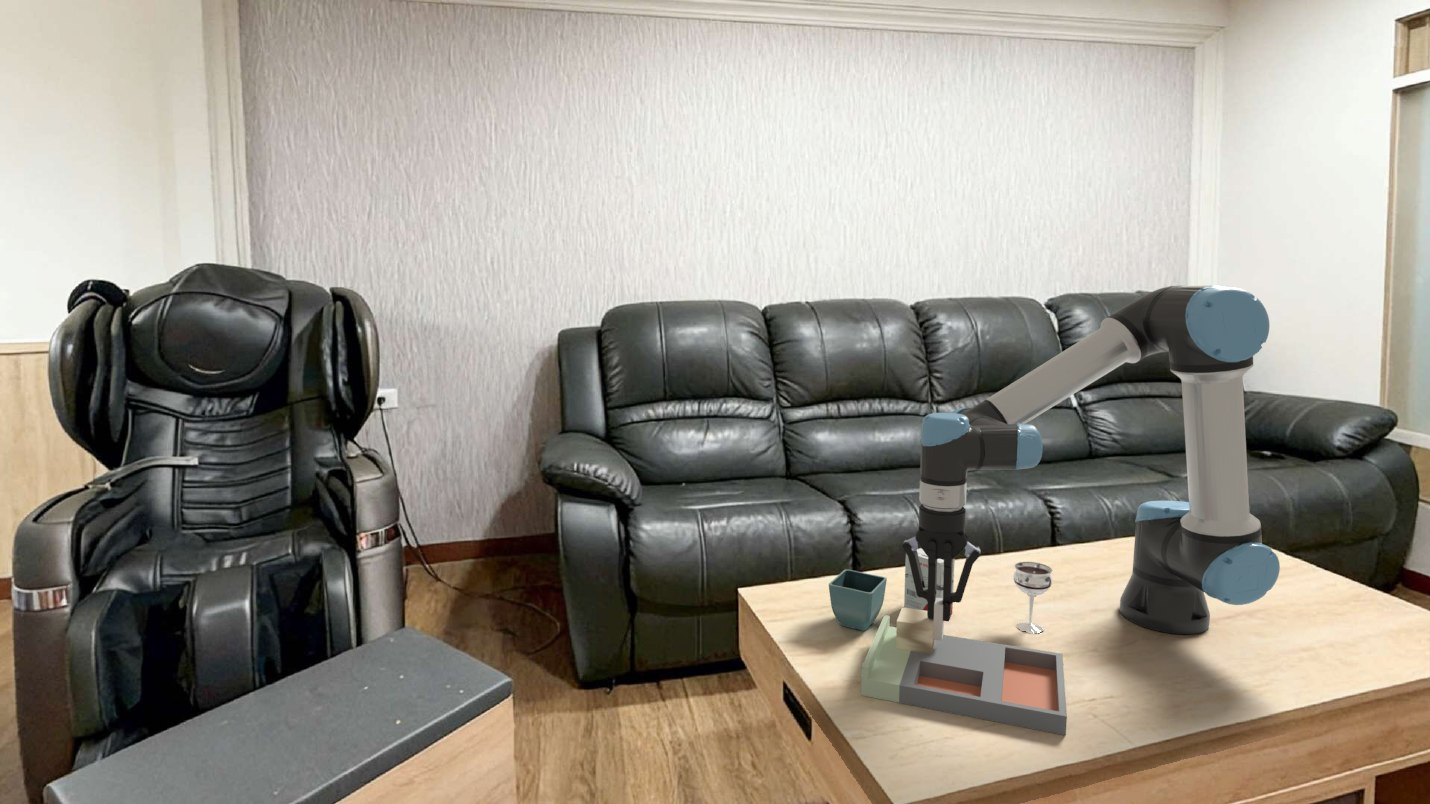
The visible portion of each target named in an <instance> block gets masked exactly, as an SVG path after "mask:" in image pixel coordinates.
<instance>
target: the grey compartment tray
mask: <svg viewBox="0 0 1430 804" xmlns="http://www.w3.org/2000/svg"><path fill="white" fill-rule="evenodd" d="M890 619H891V617H890V615H887V614H885V615H883V617H882V620H881V621H880V623H879V627H878V628H877V631H876V633H875V636H874V638H873V640H872V642H871V644H870V646H869V649H868V652H867V654H866V656H865V657H864V661H863V662H862V665H861V691H860V692H861V694H860V696H863V697H868V698H874V699H879V700H883V701H887V702H894V703H898V704H902V705H903V704H905V705H908V706H913V707H919V708H923V709H924V708H925V709H929V710H934V711H940V712H944V713H949V714H955V715H960V716H965V717H970V718H974V719H980V720H985V721H991V722H995V723H1000V724H1006V725H1011V726H1015V727H1020V728H1024V729H1025V728H1027V729H1032V730H1037V731H1039V732H1040V731H1041V732H1046V733H1052V734H1057V735H1062V736H1067V722H1068V715H1067V714H1068V713H1067V698H1066V686H1065V673H1064V672H1065V671H1064V657H1063V653H1060V652H1055V651H1054V652H1052V651H1046V650H1040V649H1036V648H1035V649H1034V648H1029V647H1022V646H1017V645H1009V644H1003V643H997V642H991V641H986V640H979V639H972V638H966V637H960V636H953V635H949V634H948V635H947V634H946V635H945V634H943V638H942V641H939V640H936V641H935V644H934V648H933V652H932V654H927V653H921V652H915V651H909V650H903V649H898V648H896V630H897V626H896V627H895V626H890V625H891V624H890V623H891V622H890Z"/></svg>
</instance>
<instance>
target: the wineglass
mask: <svg viewBox="0 0 1430 804" xmlns="http://www.w3.org/2000/svg"><path fill="white" fill-rule="evenodd" d="M1013 567H1014V569H1015V571H1014V573H1013V581H1014V584H1015V586H1016V587H1017V588H1018V590H1020V592H1022V593H1024V594H1026V595H1027V597H1028V598H1029V603H1028V604H1029V607H1028V608H1029V610H1028V611H1029V614H1028V621H1022V623H1021V622H1018V623H1019V624H1018V623H1017V624H1016V625H1015V628H1016V629H1017V628H1019V629H1020V630H1019V629H1018V630H1019V631H1020V632H1022V631H1026V632H1029V633H1030V635H1031V634H1032V635H1039V634H1038V633H1040V632H1041V631H1044V632H1045V629H1044V630H1043V629H1042V628H1044V627H1043V626H1042V627H1041V625H1040V626H1039V623H1038V624H1037V623H1034V622H1032V620H1033V611H1034V600H1035V598H1036V597H1037V596H1042V595H1044V594H1045V593H1046V592H1048V591H1049V590H1050V588H1051V587H1052V584H1053V578H1052V573H1053V569H1052V567H1050V565H1046V564H1043V563H1040V562H1035V561H1020V562H1017V563H1015V564H1014V566H1013ZM1016 626H1017V627H1016ZM1029 633H1028V634H1029ZM1035 633H1037V634H1035ZM1040 634H1041V633H1040Z"/></svg>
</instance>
